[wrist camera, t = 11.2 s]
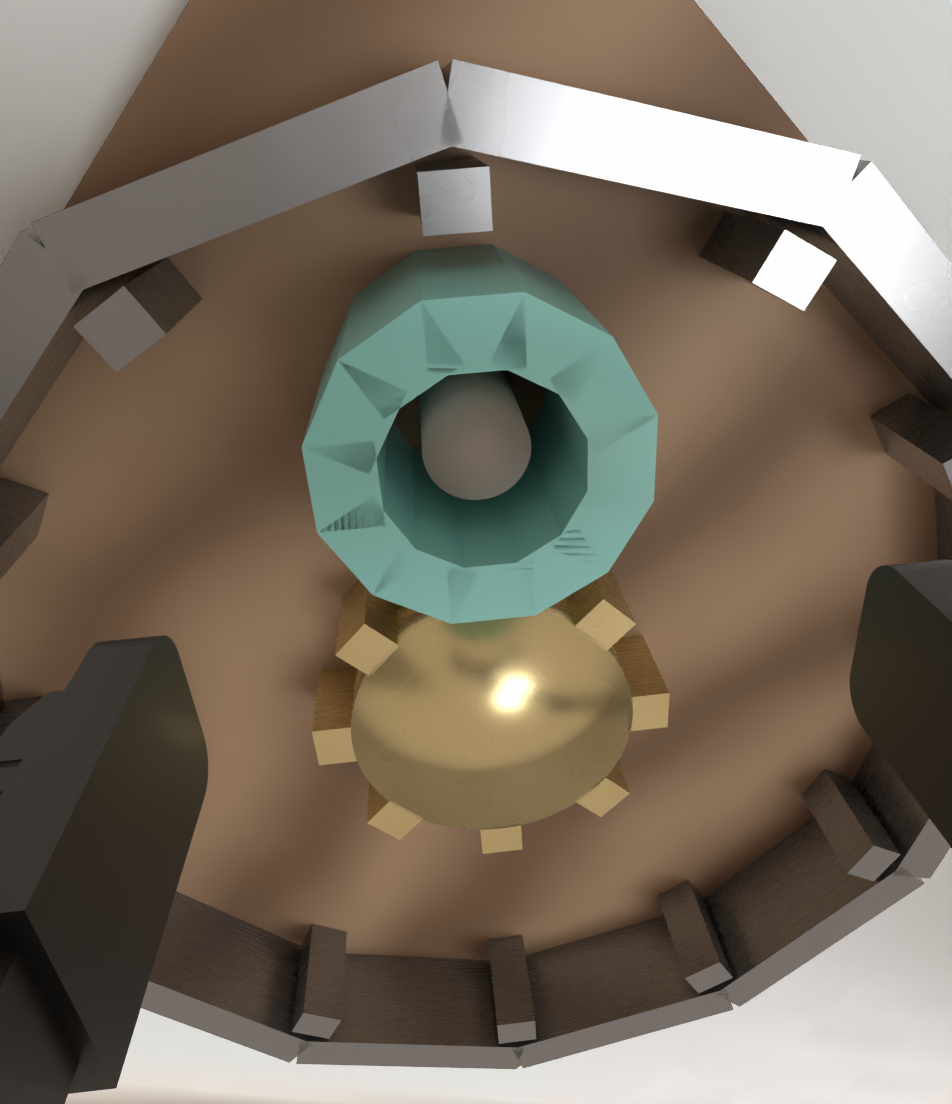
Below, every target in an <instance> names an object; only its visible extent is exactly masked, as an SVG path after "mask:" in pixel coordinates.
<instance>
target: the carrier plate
mask: <svg viewBox="0 0 952 1104" xmlns="http://www.w3.org/2000/svg"><path fill="white" fill-rule="evenodd" d="M452 59H455V60H459V61H463V62H467V63H472V64H476V65H480V66H484V67H489V68H493V69H497V70H501V71H506V72H510V73H514V74H518V75H523V76H527V77H531V78H536V79H540V80H544V81H548V82H553V83H557V84H561V85H565V86H570V87H574V88H578V89H582V90H587V91H591V92H595V93H599V94H604V95H608V96H612V97H617V98H621V99H625V100H629V101H634V102H638V103H642V104H646V105H651V106H655V107H659V108H663V109H668V110H672V111H676V112H680V113H685V114H689V115H693V116H698V117H702V118H706V119H710V120H715V121H719V122H723V123H727V124H732V125H736V126H740V127H744V128H749V129H753V130H757V131H761V132H766V133H770V134H774V135H779V136H783V137H787V138H791V139H796V140H800V141H804V142H808V140H807V139H806V138H805V137H804V136H803V134H802V133H801V132H800V131H799V129H798V128H797V127H796V126H795V124H794V123H793V122H792V121H791V119H790V118H789V117H788V116H787V115H786V113H785V112H784V111H783V110H782V108H781V107H780V106H779V105H778V103H777V102H776V101H775V100H774V99H773V97H772V96H771V95H770V94H769V92H768V91H767V90H766V89H765V87H764V86H763V85H762V84H761V82H760V81H759V80H758V79H757V78H756V76H755V75H754V74H753V73H752V71H751V70H750V69H749V68H748V66H747V65H746V64H745V63H744V61H743V60H742V59H741V58H740V57H739V55H738V54H737V53H736V52H735V50H734V49H733V48H732V47H731V45H730V44H729V43H728V42H727V40H726V39H725V38H724V37H723V36H722V34H721V33H720V32H719V31H718V29H717V28H716V27H715V26H714V24H713V23H712V22H711V21H710V20H709V18H708V17H707V16H706V15H705V13H704V12H703V11H702V10H701V8H700V7H699V6H698V5H697V3H696V2H695V1H694V0H189V2H188V4H187V5H186V7H185V9H184V10H183V12H182V14H181V15H180V17H179V19H178V20H177V22H176V24H175V25H174V27H173V29H172V30H171V32H170V34H169V35H168V37H167V39H166V40H165V42H164V44H163V45H162V47H161V49H160V50H159V52H158V54H157V55H156V57H155V59H154V60H153V62H152V64H151V65H150V67H149V69H148V70H147V72H146V74H145V75H144V77H143V79H142V80H141V82H140V84H139V85H138V87H137V89H136V90H135V92H134V94H133V95H132V97H131V99H130V100H129V102H128V104H127V105H126V107H125V109H124V110H123V112H122V114H121V115H120V117H119V119H118V120H117V122H116V124H115V125H114V127H113V129H112V130H111V132H110V134H109V135H108V137H107V139H106V140H105V142H104V144H103V145H102V147H101V149H100V150H99V152H98V154H97V155H96V157H95V159H94V160H93V162H92V164H91V165H90V167H89V169H88V170H87V172H86V174H85V175H84V177H83V179H82V180H81V182H80V184H79V185H78V187H77V189H76V190H75V192H74V194H73V195H72V197H71V199H70V200H69V202H68V204H67V205H66V207H65V209H67V208H69V207H72V206H74V205H77V204H79V203H82V202H84V201H87V200H89V199H92V198H94V197H97V196H99V195H102V194H104V193H107V192H109V191H112V190H114V189H117V188H119V187H122V186H124V185H127V184H129V183H132V182H134V181H137V180H139V179H142V178H144V177H147V176H149V175H152V174H154V173H157V172H159V171H162V170H164V169H167V168H169V167H172V166H174V165H177V164H179V163H182V162H184V161H187V160H189V159H192V158H194V157H197V156H199V155H202V154H204V153H207V152H209V151H212V150H214V149H217V148H219V147H222V146H224V145H227V144H229V143H232V142H234V141H237V140H239V139H242V138H244V137H247V136H249V135H252V134H254V133H257V132H259V131H262V130H264V129H267V128H269V127H272V126H274V125H277V124H279V123H282V122H284V121H287V120H289V119H292V118H294V117H297V116H299V115H302V114H304V113H307V112H309V111H312V110H314V109H317V108H319V107H322V106H324V105H327V104H329V103H332V102H334V101H337V100H339V99H342V98H344V97H347V96H349V95H352V94H354V93H357V92H359V91H362V90H364V89H367V88H369V87H372V86H374V85H377V84H379V83H382V82H384V81H387V80H389V79H392V78H394V77H397V76H399V75H402V74H404V73H407V72H409V71H412V70H414V69H417V68H419V67H422V66H424V65H427V64H429V63H432V62H434V61H437V60H438V62H439V66H440V69H441V72H442V75H443V68H444V67H445V66H446V65H447V64H448V63H449V62H450V61H451V60H452ZM808 143H809V142H808ZM469 157H475V158H477V159H479V160H480V161H482V162H483V163H485V164H486V165H488V166H489V170H490V188H491V207H492V225H493V231H482V232H470V233H458V234H447V235H435V236H423V233H422V227H421V222H420V216H419V206H418V195H417V184H416V174H415V163H414V162H419V161H431V160H444V159H456V158H469ZM725 211H727V212H730V213H733V214H737V215H740V216H743V217H746V218H750V219H753V220H756V221H759V222H762V223H766V224H769V225H771V223H770V222H769V221H768V220H767V219H766V218H765V217H764V216H763V214H762V213H758V212H753V211H749V210H744V209H739V208H735V207H730V206H725V205H721V204H716V203H712V202H707V201H702V200H698V199H693V198H688V197H684V196H679V195H675V194H670V193H665V192H661V191H656V190H651V189H647V188H642V187H638V186H633V185H628V184H624V183H619V182H615V181H610V180H605V179H601V178H596V177H591V176H587V175H582V174H578V173H573V172H568V171H564V170H559V169H554V168H550V167H545V166H541V165H536V164H531V163H527V162H522V161H517V160H513V159H508V158H504V157H499V156H494V155H490V154H485V153H480V152H476V151H471V150H467V149H462V148H457V147H453V146H451V147H448V148H446V149H443V150H441V151H438V152H436V153H433V154H430V155H428V156H425V157H423V158H420V159H418V160H415V161H412V162H410V163H407V164H405V165H402V166H400V167H397V168H394V169H392V170H389V171H387V172H384V173H382V174H379V175H376V176H374V177H371V178H369V179H366V180H364V181H361V182H358V183H356V184H353V185H351V186H348V187H346V188H343V189H340V190H338V191H335V192H333V193H330V194H328V195H325V196H322V197H320V198H317V199H315V200H312V201H310V202H307V203H304V204H302V205H299V206H297V207H294V208H292V209H289V210H286V211H284V212H281V213H279V214H276V215H274V216H271V217H268V218H266V219H263V220H261V221H258V222H256V223H253V224H250V225H248V226H245V227H243V228H240V229H238V230H235V231H232V232H230V233H227V234H225V235H222V236H220V237H217V238H214V239H212V240H209V241H207V242H204V243H202V244H199V245H196V246H194V247H191V248H189V249H186V250H184V251H181V252H178V253H176V254H173V255H171V256H168V257H166V258H163V259H160V260H158V261H155V262H153V263H150V264H148V265H145V266H143V267H140V268H137V269H135V270H132V271H130V272H127V273H126V274H125V275H124V277H123V278H122V280H121V281H120V283H119V284H118V286H117V288H116V289H115V291H114V292H113V294H114V293H116V292H117V291H118V290H119V289H121V288H122V287H123V286H124V285H126V284H127V283H129V282H131V281H132V280H134V279H135V278H137V277H138V276H140V275H142V274H143V273H145V272H146V271H148V270H149V269H151V268H153V267H154V266H156V265H157V264H159V263H160V262H162V261H164V260H165V259H167V258H169V259H170V261H171V262H172V263H173V264H174V265H175V266H176V268H177V269H178V270H179V271H180V272H181V274H182V275H183V276H184V277H185V278H186V280H187V281H188V282H189V283H190V284H191V286H192V287H193V288H194V289H195V290H196V292H197V293H198V294H199V295H200V296H201V298H202V300H201V301H200V302H199V303H198V304H197V305H196V306H195V307H194V308H193V309H192V310H191V311H190V312H189V313H188V314H187V315H186V316H184V317H183V318H182V319H181V320H180V321H179V322H178V323H177V324H176V325H175V326H174V327H173V328H172V329H171V330H170V331H169V332H168V333H167V334H166V335H164V336H163V337H162V338H160V339H159V340H158V341H157V342H155V343H154V344H153V345H151V346H150V347H149V348H148V349H146V350H145V351H144V352H142V353H141V354H140V355H138V356H137V357H136V358H135V359H133V360H132V361H131V362H129V363H128V364H127V365H126V366H124V367H123V368H122V369H120V370H119V371H118V372H117V373H116V372H115V371H114V369H113V368H112V367H111V366H110V365H109V364H108V363H107V362H106V361H105V360H104V359H103V358H102V357H101V356H100V355H99V353H98V352H97V351H96V350H95V349H94V348H93V347H92V346H91V345H90V344H89V343H88V342H87V341H86V340H85V339H84V338H83V340H82V341H81V343H80V344H79V346H78V348H77V349H76V351H75V352H74V354H73V355H72V357H71V358H70V360H69V361H68V363H67V364H66V366H65V368H64V369H63V371H62V372H61V374H60V375H59V377H58V378H57V380H56V381H55V383H54V384H53V386H52V388H51V389H50V391H49V392H48V394H47V395H46V397H45V398H44V400H43V401H42V403H41V405H40V406H39V408H38V409H37V411H36V412H35V414H34V415H33V417H32V418H31V420H30V421H29V423H28V425H27V426H26V428H25V429H24V431H23V432H22V434H21V435H20V437H19V438H18V440H17V441H16V443H15V445H14V446H13V448H12V449H11V451H10V452H9V454H8V455H7V457H6V458H5V460H4V461H3V463H2V465H1V466H0V480H1V479H2V478H6V479H9V480H11V481H14V482H17V483H20V484H23V485H26V486H28V487H31V488H34V489H37V490H40V491H42V492H45V493H48V494H49V496H48V499H47V503H46V507H45V511H44V514H43V518H42V522H41V525H40V529H39V533H38V536H37V537H36V538H35V540H34V541H33V542H32V543H31V544H30V546H29V547H28V548H27V549H26V550H25V551H24V553H23V554H22V555H21V556H20V557H19V558H18V560H17V561H16V562H15V563H14V564H13V566H12V567H11V568H10V569H9V570H8V571H7V573H6V574H5V575H4V576H3V577H2V578H1V580H0V673H1V682H2V692H3V702H4V709H5V707H6V705H7V704H8V702H9V701H10V700H13V699H23V698H32V697H42V696H44V695H46V694H47V693H48V692H51V691H61V690H65V689H66V687H67V685H68V684H69V682H70V680H71V679H72V677H73V676H74V674H75V672H76V671H77V669H78V667H79V666H80V664H81V662H82V661H83V659H84V657H85V656H86V654H87V652H88V651H89V649H90V648H91V647H92V646H93V645H94V644H95V643H97V642H101V641H111V640H121V639H131V638H141V637H151V636H161V635H166V636H168V637H170V638H171V639H172V640H173V642H174V643H175V645H176V647H177V650H178V653H179V656H180V659H181V662H182V666H183V669H184V672H185V675H186V679H187V682H188V685H189V688H190V692H191V695H192V698H193V702H194V705H195V708H196V711H197V715H198V718H199V721H200V724H201V728H202V731H203V734H204V738H205V742H206V747H207V754H208V782H207V789H206V794H205V798H204V801H203V804H202V808H201V811H200V814H199V818H198V821H197V824H196V827H195V831H194V834H193V837H192V841H191V844H190V847H189V850H188V854H187V857H186V860H185V864H184V867H183V870H182V873H181V877H180V880H179V883H178V887H177V890H176V891H177V892H179V893H182V894H184V895H186V896H188V897H191V898H193V899H195V900H198V901H200V902H202V903H204V904H207V905H209V906H211V907H214V908H216V909H218V910H221V911H223V912H225V913H227V914H230V915H232V916H234V917H237V918H239V919H241V920H243V921H246V922H248V923H250V924H253V925H255V926H257V927H260V928H262V929H264V930H266V931H269V932H271V933H273V934H276V935H278V936H280V937H282V938H285V939H287V940H289V941H292V942H294V943H296V944H299V945H301V946H302V942H303V940H304V938H305V936H306V935H307V933H308V931H309V930H310V928H311V926H312V924H316V925H321V926H325V927H329V928H334V929H338V930H342V931H347V939H346V953H349V954H370V955H391V956H412V957H434V958H455V959H476V960H490V955H489V944H488V939H491V938H499V937H508V936H516V935H523V941H524V948H525V955H529V954H533V953H536V952H540V951H543V950H546V949H550V948H553V947H557V946H560V945H564V944H567V943H570V942H574V941H577V940H581V939H584V938H587V937H591V936H594V935H598V934H601V933H605V932H608V931H611V930H615V929H618V928H622V927H625V926H629V925H632V924H635V923H639V922H642V921H646V920H649V919H653V918H656V917H659V916H663V915H664V913H663V910H662V907H661V904H660V901H659V898H658V894H661V893H663V892H665V891H667V890H669V889H671V888H673V887H675V886H677V885H679V884H681V883H683V882H685V881H687V880H689V881H690V882H691V883H692V884H693V885H694V887H695V888H696V889H697V890H698V891H699V893H700V894H701V895H702V898H704V897H705V896H707V895H708V894H709V893H711V892H712V891H713V890H715V889H716V888H717V887H719V886H720V885H721V884H723V883H724V882H726V881H727V880H728V879H730V878H731V877H732V876H734V875H735V874H736V873H738V872H739V871H740V870H742V869H743V868H745V867H746V866H747V865H749V864H750V863H751V862H753V861H754V860H755V859H757V858H758V857H759V856H761V855H762V854H764V853H765V852H766V851H768V850H769V849H770V848H772V847H773V846H774V845H776V844H777V843H778V842H780V841H781V840H782V839H784V838H785V837H787V836H788V835H789V834H791V833H792V832H793V831H795V830H796V829H797V828H799V827H800V826H801V825H803V824H804V823H806V822H807V821H808V820H810V819H811V818H812V817H814V816H813V814H812V812H811V811H810V809H809V807H808V805H807V804H806V802H805V800H804V799H803V797H802V793H803V792H804V791H805V790H806V789H807V788H808V787H809V785H810V784H811V783H812V782H813V781H814V780H815V779H816V778H817V776H818V775H819V774H820V773H821V772H822V771H823V770H824V769H827V770H830V771H833V772H835V773H838V774H841V775H844V776H847V777H849V778H850V780H851V781H852V780H853V778H854V777H855V775H856V773H857V771H858V769H859V768H860V766H861V764H862V762H863V760H864V759H865V757H866V755H867V753H868V751H869V750H870V748H871V746H872V744H873V742H872V740H871V739H870V738H869V736H868V735H867V734H866V732H865V731H864V729H863V728H862V726H861V725H860V723H859V721H858V719H857V716H856V714H855V711H854V708H853V705H852V700H851V695H850V671H851V666H852V661H853V655H854V650H855V645H856V640H857V634H858V629H859V624H860V618H861V613H862V608H863V602H864V597H865V592H866V587H867V583H868V580H869V577H870V575H871V574H872V572H873V571H874V570H875V569H876V568H877V567H879V566H883V565H893V564H903V563H913V562H923V561H933V560H938V546H937V528H936V510H935V492H934V487H932V486H931V485H929V484H928V483H927V482H925V481H924V480H922V479H921V478H919V477H918V476H917V475H915V474H914V473H912V472H911V471H910V470H908V469H907V468H905V467H904V466H903V465H901V464H900V463H898V462H897V461H895V460H894V459H893V458H891V457H890V456H888V455H887V454H886V453H885V451H884V448H883V446H882V444H881V441H880V439H879V437H878V435H877V432H876V430H875V428H874V425H873V423H872V421H871V418H870V415H872V414H874V413H875V412H877V411H879V410H880V409H882V408H884V407H885V406H887V405H889V404H890V403H892V402H894V401H895V400H897V399H899V398H900V397H902V396H904V395H905V394H907V393H910V394H912V395H914V396H915V397H917V398H919V399H921V400H923V401H924V402H926V403H928V402H927V401H926V400H925V399H924V397H923V396H922V395H921V394H920V393H919V392H918V391H917V389H916V388H915V387H914V386H913V385H912V384H911V383H910V382H909V380H908V379H907V378H906V377H905V376H904V375H903V374H902V372H901V371H900V370H899V369H898V368H897V367H896V366H895V364H894V363H893V362H892V361H891V360H890V359H889V358H888V357H887V355H886V354H885V353H884V352H883V351H882V350H881V349H880V347H879V346H878V345H877V344H876V343H875V342H874V341H873V339H872V338H871V337H870V336H869V335H868V334H867V333H866V332H865V330H864V329H863V328H862V327H861V326H860V325H859V324H858V322H857V321H856V320H855V319H854V318H853V317H852V316H851V314H850V313H849V312H848V311H847V310H846V309H845V308H844V306H843V305H842V304H841V303H840V302H839V301H838V300H837V299H836V297H835V296H834V295H833V294H832V293H831V292H830V291H829V289H828V288H827V287H826V286H825V285H824V284H823V283H822V284H821V286H820V287H819V289H818V290H817V292H816V293H815V295H814V296H813V298H812V299H811V301H810V303H809V304H808V306H807V307H806V309H805V310H804V311H802V310H800V309H798V308H796V307H794V306H792V305H790V304H788V303H786V302H784V301H782V300H780V299H778V298H776V297H774V296H772V295H770V294H768V293H766V292H764V291H762V290H760V289H758V288H756V287H754V286H752V285H750V284H748V283H746V282H744V281H743V280H741V279H739V278H737V277H735V276H733V275H732V274H730V273H728V272H726V271H724V270H723V269H721V268H719V267H717V266H715V265H714V264H712V263H710V262H708V261H706V260H705V259H703V258H701V257H699V255H700V253H701V251H702V250H703V248H704V246H705V245H706V243H707V241H708V239H709V238H710V236H711V234H712V232H713V231H714V229H715V227H716V226H717V224H718V222H719V220H720V219H721V217H722V215H723V213H724V212H725ZM490 244H492V245H494V246H496V247H498V248H500V249H502V250H504V251H506V252H508V253H510V254H512V255H514V256H516V257H518V258H520V259H521V260H523V261H525V262H527V263H529V264H531V265H533V266H535V267H537V268H539V269H541V270H543V271H545V272H547V273H548V274H550V275H552V276H554V277H556V278H558V279H559V280H560V281H561V282H562V283H563V284H564V285H565V286H566V287H567V288H568V289H569V290H570V291H571V293H572V294H573V295H574V296H575V297H576V298H577V299H578V300H579V301H580V302H581V303H582V304H583V305H584V306H585V307H586V309H587V310H588V311H589V312H590V313H591V314H592V315H593V316H594V317H595V318H596V319H597V320H598V321H599V322H600V323H601V325H602V326H603V327H604V328H605V329H606V330H607V331H608V332H609V333H610V334H611V335H612V336H613V338H614V339H615V341H616V343H617V345H618V346H619V348H620V350H621V352H622V353H623V355H624V357H625V359H626V360H627V362H628V364H629V365H630V367H631V369H632V371H633V372H634V374H635V376H636V378H637V379H638V381H639V383H640V384H641V386H642V388H643V390H644V391H645V393H646V395H647V397H648V398H649V400H650V402H651V404H652V405H653V407H654V409H655V410H656V412H657V414H658V428H657V448H656V469H655V489H654V502H653V503H652V505H651V506H650V508H649V509H648V511H647V513H646V514H645V516H644V517H643V519H642V520H641V522H640V523H639V525H638V527H637V528H636V530H635V531H634V533H633V534H632V536H631V537H630V539H629V541H628V542H627V544H626V545H625V547H624V548H623V550H622V552H621V553H620V555H619V556H618V558H617V559H616V561H615V562H614V564H613V566H612V567H611V570H612V572H613V574H614V577H615V579H616V581H617V583H618V585H619V587H620V590H621V592H622V594H623V596H624V598H625V601H626V603H627V605H628V607H629V609H630V611H631V614H632V616H633V618H634V620H635V622H636V625H635V626H633V627H632V628H631V629H630V630H629V631H628V632H627V633H626V634H625V635H624V636H622V637H629V636H638V635H643V636H644V639H645V641H646V643H647V645H648V647H649V649H650V652H651V654H652V656H653V658H654V660H655V662H656V665H657V667H658V669H659V671H660V673H661V675H662V678H663V680H664V682H665V684H666V686H667V688H668V691H669V693H670V695H669V711H668V727H664V728H655V729H646V730H637V731H630V735H629V738H628V742H627V744H626V746H625V748H624V751H623V753H622V755H621V757H620V758H619V762H620V765H621V768H622V771H623V774H624V777H625V780H626V782H627V785H628V788H629V791H630V794H629V795H627V796H626V797H625V798H624V799H623V800H621V801H620V802H619V803H618V804H617V805H615V806H614V807H613V808H612V809H610V810H609V811H608V812H607V813H606V814H604V815H603V816H602V817H600V816H598V815H596V814H595V813H593V812H591V811H590V810H588V809H587V808H585V807H583V806H582V805H580V804H578V803H577V802H576V803H574V804H572V805H571V806H569V807H567V808H566V809H564V810H562V811H560V812H558V813H555V814H553V815H551V816H549V817H546V818H543V819H540V820H538V821H535V822H531V823H527V824H523V825H521V831H522V850H513V851H505V852H496V853H487V854H483V852H482V843H481V834H480V830H472V829H460V828H452V827H447V826H442V825H438V824H434V823H431V822H428V821H425V820H421V821H420V822H419V823H418V824H417V825H416V826H415V827H414V828H413V829H412V830H410V831H409V832H408V833H407V834H406V835H405V836H404V837H403V838H402V839H401V840H399V839H397V838H395V837H393V836H391V835H389V834H387V833H385V832H383V831H381V830H380V829H378V828H376V827H374V826H372V825H370V824H368V823H367V811H368V789H369V781H368V779H367V778H366V776H365V775H364V774H363V772H362V770H361V768H360V766H359V764H358V762H357V761H354V762H345V763H336V764H327V765H319V763H318V758H317V754H316V749H315V744H314V740H313V735H312V726H313V719H314V712H315V705H316V698H317V691H318V684H319V677H320V670H321V669H323V668H333V667H343V666H352V665H350V664H349V663H347V662H345V661H344V660H342V659H340V658H339V657H337V656H336V655H335V653H336V644H337V636H338V627H339V619H340V610H341V602H342V597H343V596H344V595H345V594H346V592H347V591H348V590H349V589H350V588H351V587H352V586H353V585H354V584H355V582H356V581H357V580H358V578H357V577H356V576H355V575H354V574H353V572H352V571H351V570H350V569H349V568H348V567H347V566H346V565H345V564H344V562H343V561H342V560H341V559H340V558H339V557H338V556H337V555H336V553H335V552H334V551H333V550H332V549H331V548H330V547H329V546H328V544H327V543H326V542H325V541H324V540H323V539H322V538H321V537H320V536H319V534H318V533H317V530H316V524H315V519H314V513H313V508H312V502H311V497H310V491H309V486H308V480H307V475H306V469H305V464H304V458H303V453H302V444H303V440H304V437H305V434H306V430H307V427H308V423H309V420H310V416H311V413H312V410H313V406H314V403H315V399H316V396H317V392H318V389H319V386H320V382H321V379H322V375H323V372H324V368H325V365H326V362H327V360H328V357H329V355H330V352H331V350H332V347H333V345H334V343H335V340H336V338H337V335H338V333H339V330H340V328H341V325H342V323H343V321H344V318H345V316H346V313H347V311H348V308H349V306H350V303H351V301H352V299H353V296H354V295H355V294H357V293H358V292H359V291H361V290H362V289H364V288H365V287H366V286H368V285H369V284H370V283H372V282H373V281H374V280H376V279H377V278H379V277H380V276H381V275H383V274H384V273H385V272H387V271H388V270H389V269H391V268H392V267H394V266H395V265H396V264H398V263H399V262H400V261H402V260H403V259H404V258H406V257H407V256H409V255H410V254H411V253H413V252H414V251H416V250H428V249H441V248H453V247H466V246H478V245H490ZM113 294H112V295H113ZM112 295H111V296H112ZM542 402H543V387H542V386H540V385H538V384H536V383H534V382H532V381H530V380H528V379H525V378H523V377H521V376H519V375H517V374H515V373H513V372H511V371H509V370H502V371H490V372H479V373H468V374H456V375H448V376H446V377H445V378H443V379H442V380H440V381H439V382H437V383H436V384H434V385H433V386H432V387H430V388H429V389H427V390H426V391H424V392H423V393H421V394H420V395H418V396H417V397H415V398H414V399H413V400H411V401H410V402H408V403H407V404H405V405H404V406H402V407H401V408H399V411H398V413H397V415H396V417H395V419H394V421H393V423H394V424H395V425H396V427H397V428H398V429H399V431H400V432H401V433H402V435H403V436H404V437H405V438H406V440H407V441H408V442H409V444H410V445H411V446H412V447H413V448H416V449H418V450H420V451H422V456H423V462H424V465H425V468H426V470H427V472H428V474H429V476H430V477H431V479H432V480H433V481H434V482H435V484H436V485H437V486H439V487H440V488H441V489H442V490H444V491H445V492H447V493H448V494H451V495H453V496H455V497H458V498H462V499H467V500H483V499H488V498H492V497H495V496H497V495H500V494H502V493H504V492H505V491H507V490H508V489H510V488H511V487H512V486H513V485H514V484H516V483H517V482H518V480H519V479H520V478H521V477H522V475H523V473H524V472H525V470H526V468H527V466H528V463H529V460H530V455H531V438H530V434H529V431H528V428H529V426H530V424H531V422H532V421H533V419H534V417H535V415H536V413H537V411H538V410H539V408H540V406H541V404H542ZM928 404H929V403H928ZM520 1065H521V1064H520V1062H519V1063H518V1065H517V1068H518V1067H519V1066H520Z"/></svg>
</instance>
